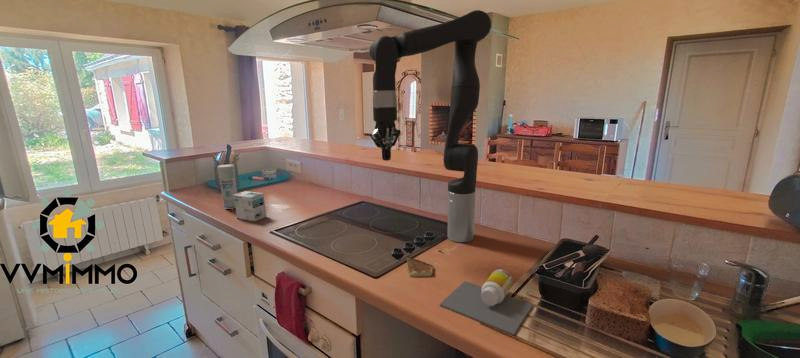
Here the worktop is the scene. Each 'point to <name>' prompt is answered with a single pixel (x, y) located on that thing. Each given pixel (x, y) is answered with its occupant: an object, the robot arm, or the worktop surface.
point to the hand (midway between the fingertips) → (386, 160)
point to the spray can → (227, 185)
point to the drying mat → (487, 308)
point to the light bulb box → (250, 206)
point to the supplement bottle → (496, 287)
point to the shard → (418, 268)
